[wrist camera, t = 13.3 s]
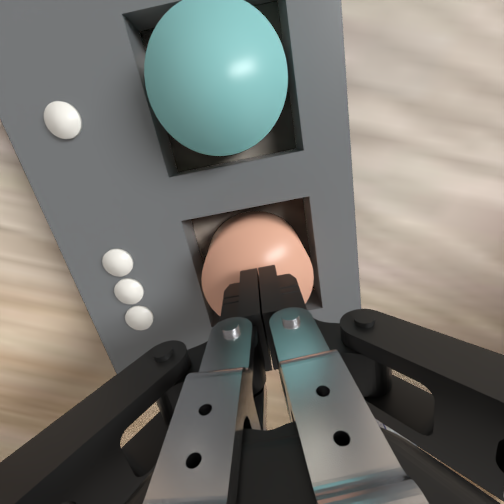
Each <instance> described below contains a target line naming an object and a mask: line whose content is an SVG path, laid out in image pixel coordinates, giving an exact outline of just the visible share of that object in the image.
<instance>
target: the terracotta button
mask: <svg viewBox="0 0 504 504" xmlns="http://www.w3.org/2000/svg"><path fill="white" fill-rule="evenodd" d="M270 265H275V268H276V272H277V276H278V275H283V274H291V275H292V276H294V277H295V278H296V279H297V282H298V285H299V288H300V291H301V294H302V296H303V299H304V302H305V304H306V302H307V300H308V298H309V296H310V294H311V291H312V287H313V280H314V275H313V268H312V264H311V261H310V258H309V257H308V255H307V253H306V251H305V249H304V247H303V245H302V243H301V241H300V239H299V237H298V236H297V234H296V232H295V230H294V229H293V228H292V227H291V226H290V224H289V223H287V222H286V221H285V220H284V219H282V218H280V217H279V216H277V215H274V214H272V213H268V212H263V211H248V212H244V213H240V214H237V215H235V216H233V217H231V218H229V219H228V220H227V221H225V222H224V223H223V224H222V225H221V226H220V227H219V228H218V230H217V231H216V232H215V234H214V236H213V238H212V240H211V243H210V246H209V250H208V253H207V256H206V259H205V263H204V266H203V270H202V278H201V279H202V288H203V292H204V295H205V298H206V300H207V302H208V304H209V305H210V306H211V308H212V309H213V310H214V311H215V312H216V313H217V314H218V315H219V316H221V309H222V302H223V295H224V290H225V289H226V288H227V287H228V286H229V284H233V283H239V282H240V271H242V270H248V269H253V268H257V270H258V268H259V267H264V266H270ZM258 275H259V272H258Z"/></svg>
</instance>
